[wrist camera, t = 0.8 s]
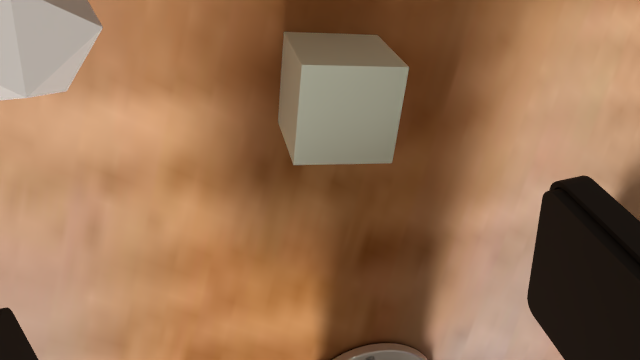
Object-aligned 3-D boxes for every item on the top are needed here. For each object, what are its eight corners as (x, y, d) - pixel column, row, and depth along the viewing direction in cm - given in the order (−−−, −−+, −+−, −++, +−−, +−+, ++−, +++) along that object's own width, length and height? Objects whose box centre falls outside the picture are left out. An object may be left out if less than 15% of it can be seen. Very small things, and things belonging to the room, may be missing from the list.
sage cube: (377, 34, 37) (409, 67, 32) (364, 121, 40) (392, 163, 35) (283, 31, 36) (301, 65, 31) (277, 121, 39) (293, 165, 34)
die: (47, -119, 30) (-155, -117, 22) (163, 7, 30) (2, 53, 23) (1, -4, 35) (-178, 31, 27) (101, 104, 35) (-49, 169, 27)
